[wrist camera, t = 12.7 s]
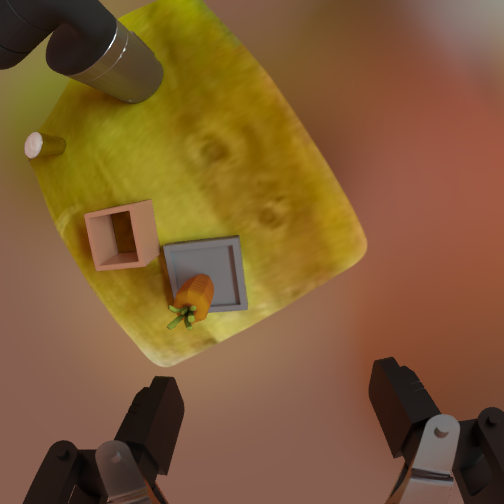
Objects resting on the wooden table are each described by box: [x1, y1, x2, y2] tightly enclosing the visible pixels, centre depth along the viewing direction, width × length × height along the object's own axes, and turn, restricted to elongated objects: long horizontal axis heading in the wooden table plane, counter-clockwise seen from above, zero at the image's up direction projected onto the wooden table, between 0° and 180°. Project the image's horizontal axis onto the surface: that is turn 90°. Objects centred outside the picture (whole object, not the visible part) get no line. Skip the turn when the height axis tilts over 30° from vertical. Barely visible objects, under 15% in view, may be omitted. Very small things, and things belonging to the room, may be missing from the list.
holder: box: [84, 199, 161, 271], centre depth 40 cm, size 9×9×7 cm
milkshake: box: [25, 132, 66, 161], centre depth 34 cm, size 4×5×10 cm
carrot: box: [167, 274, 214, 330], centre depth 36 cm, size 5×5×15 cm
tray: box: [163, 235, 248, 313], centre depth 44 cm, size 12×12×2 cm
